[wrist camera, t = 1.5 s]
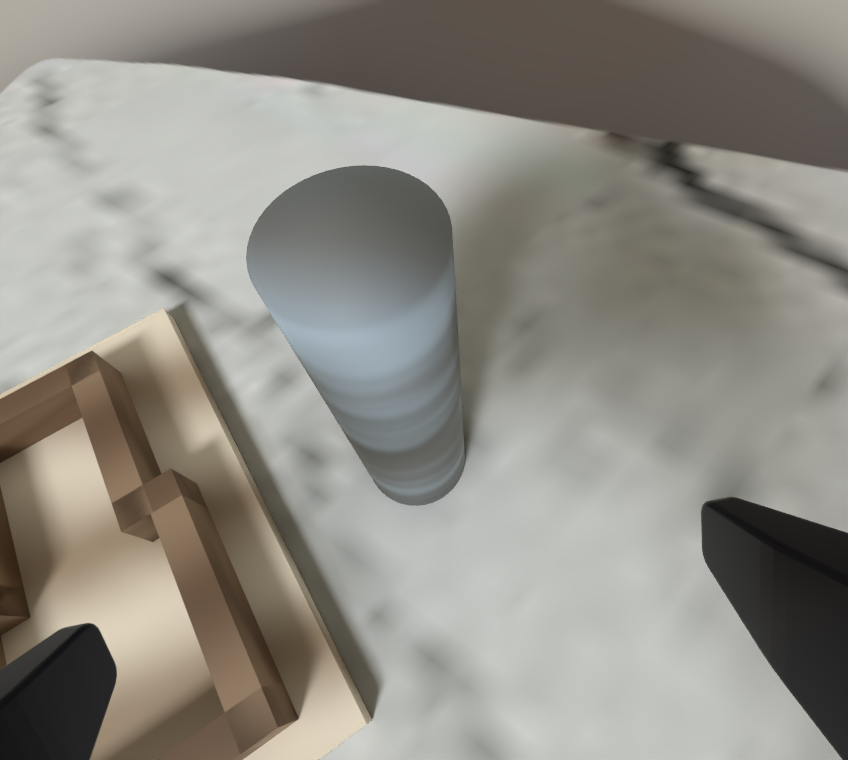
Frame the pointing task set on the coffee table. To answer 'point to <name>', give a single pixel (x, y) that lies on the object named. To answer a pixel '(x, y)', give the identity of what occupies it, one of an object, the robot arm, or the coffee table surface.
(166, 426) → the keyhole board
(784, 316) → the coffee table surface
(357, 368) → the slate peg
